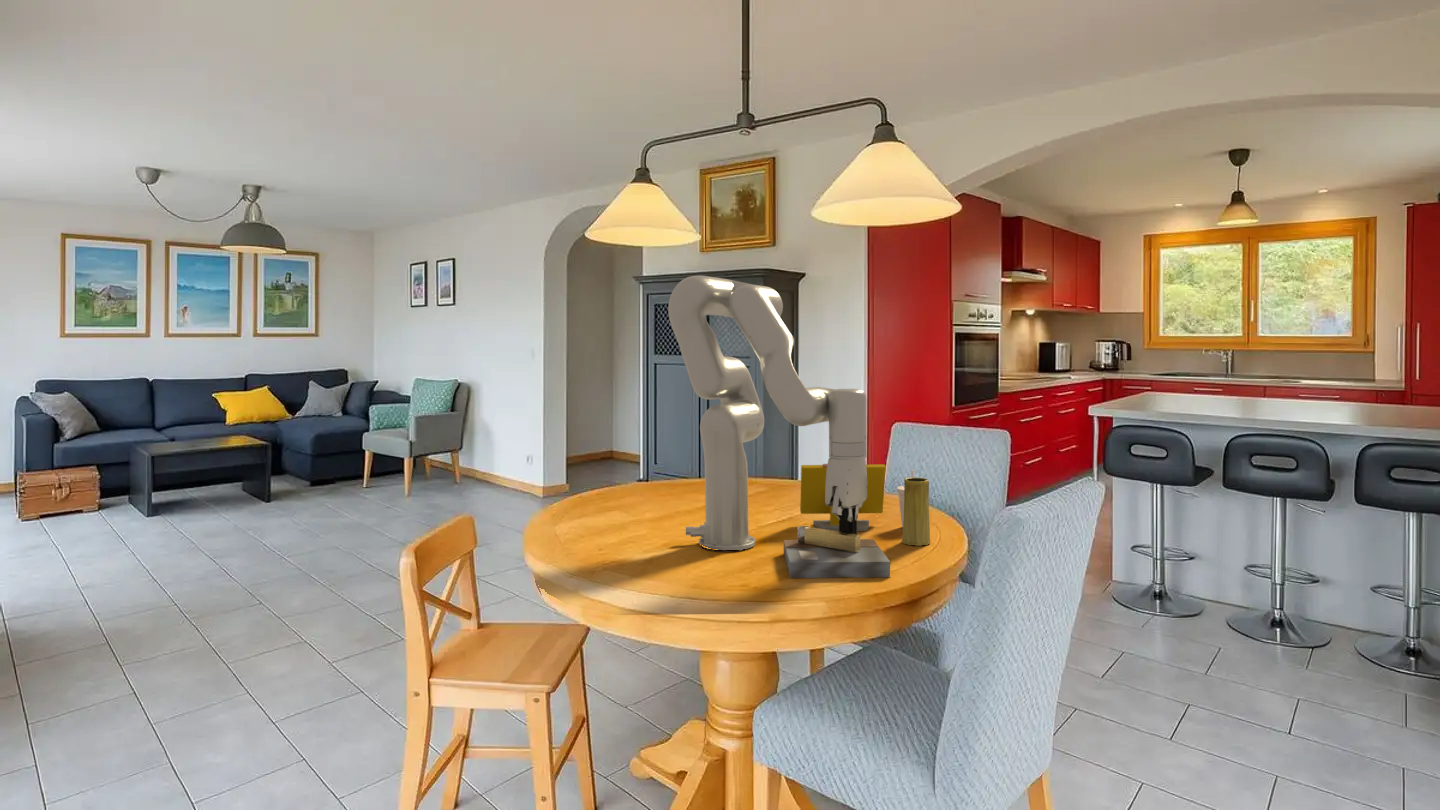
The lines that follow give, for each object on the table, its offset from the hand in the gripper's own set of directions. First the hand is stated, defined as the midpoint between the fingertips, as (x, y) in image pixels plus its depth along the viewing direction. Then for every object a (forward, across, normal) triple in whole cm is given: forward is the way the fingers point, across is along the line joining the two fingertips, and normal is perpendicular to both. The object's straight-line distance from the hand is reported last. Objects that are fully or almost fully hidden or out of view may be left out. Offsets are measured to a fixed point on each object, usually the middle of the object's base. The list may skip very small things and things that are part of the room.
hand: (847, 539), depth 157 cm
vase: (+5, -22, +5) cm, 23 cm away
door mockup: (+5, +4, -1) cm, 6 cm away
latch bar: (+1, +3, -3) cm, 4 cm away
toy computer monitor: (+5, -25, -15) cm, 30 cm away
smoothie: (+5, -34, -2) cm, 34 cm away
